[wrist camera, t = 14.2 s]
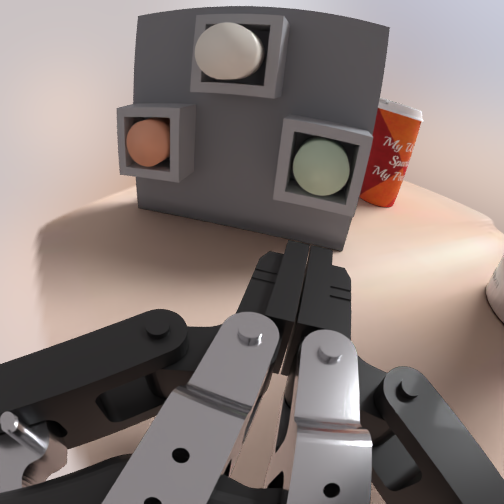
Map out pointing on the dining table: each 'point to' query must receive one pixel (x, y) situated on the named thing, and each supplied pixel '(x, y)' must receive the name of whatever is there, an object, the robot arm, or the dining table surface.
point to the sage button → (321, 166)
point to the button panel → (256, 118)
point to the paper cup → (390, 152)
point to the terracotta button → (149, 141)
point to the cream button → (229, 51)
